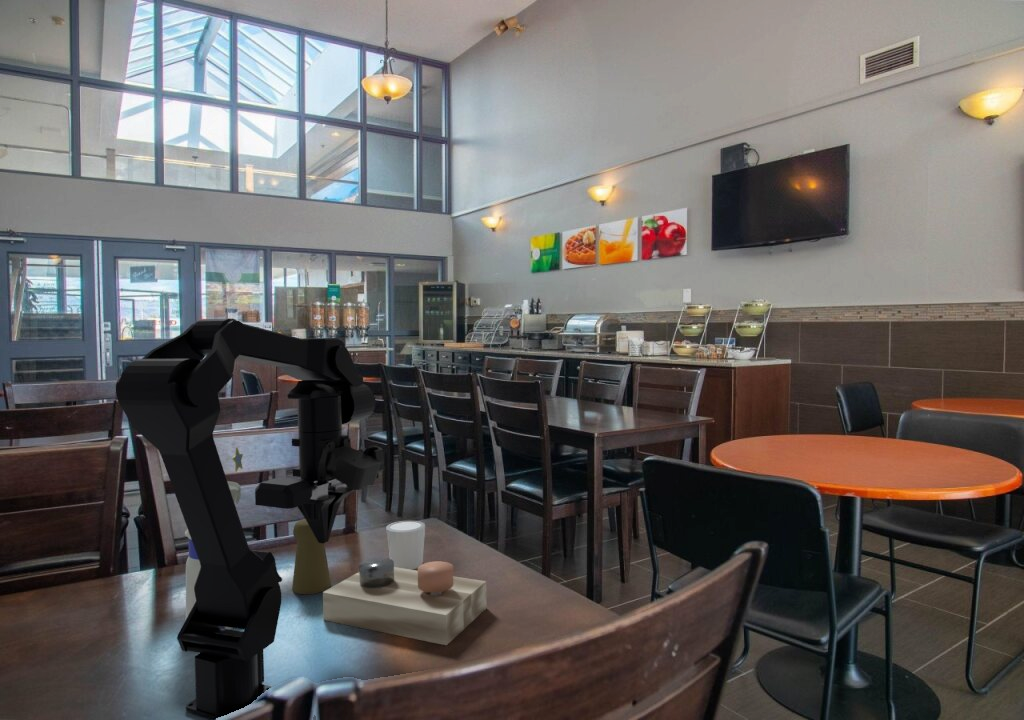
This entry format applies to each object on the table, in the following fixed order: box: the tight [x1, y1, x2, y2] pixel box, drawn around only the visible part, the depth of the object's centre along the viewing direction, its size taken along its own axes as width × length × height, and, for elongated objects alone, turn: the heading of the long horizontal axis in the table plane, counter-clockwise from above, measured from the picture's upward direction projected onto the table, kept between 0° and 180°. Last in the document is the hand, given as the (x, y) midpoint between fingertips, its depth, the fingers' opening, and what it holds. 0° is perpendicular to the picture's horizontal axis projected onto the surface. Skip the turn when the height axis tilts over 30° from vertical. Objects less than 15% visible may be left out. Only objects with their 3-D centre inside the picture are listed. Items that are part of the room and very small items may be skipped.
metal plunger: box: [358, 557, 394, 587], centre depth 92 cm, size 5×5×6 cm
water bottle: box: [184, 447, 244, 630], centre depth 88 cm, size 8×9×25 cm
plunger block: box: [322, 567, 488, 646], centre depth 90 cm, size 12×20×4 cm, turn 67°
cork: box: [291, 518, 332, 595], centre depth 101 cm, size 6×6×11 cm
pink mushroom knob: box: [417, 560, 454, 596], centre depth 88 cm, size 5×5×6 cm
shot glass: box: [385, 520, 426, 570], centre depth 110 cm, size 7×7×7 cm
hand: (323, 542), depth 86 cm, fingers closed
